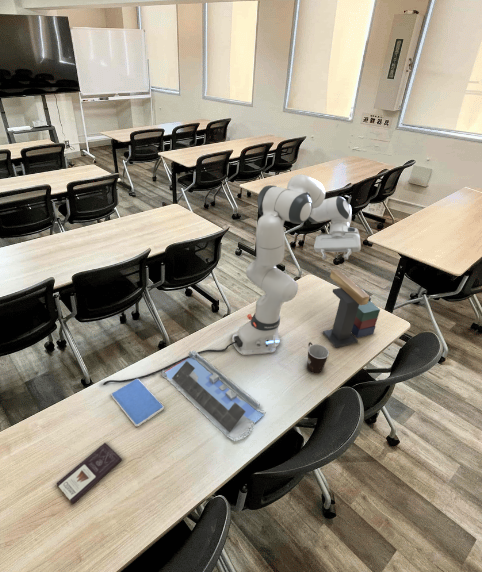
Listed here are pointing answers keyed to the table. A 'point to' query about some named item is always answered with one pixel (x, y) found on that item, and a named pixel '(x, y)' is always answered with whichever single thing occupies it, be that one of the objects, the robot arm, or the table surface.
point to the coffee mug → (316, 357)
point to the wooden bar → (349, 287)
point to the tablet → (137, 402)
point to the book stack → (365, 320)
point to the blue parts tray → (215, 396)
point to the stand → (343, 320)
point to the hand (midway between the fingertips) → (334, 258)
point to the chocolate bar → (88, 473)
